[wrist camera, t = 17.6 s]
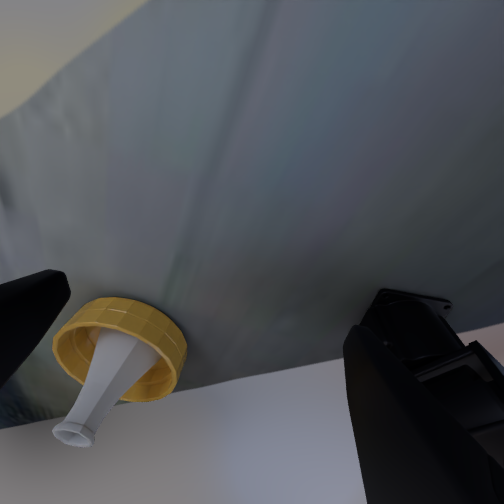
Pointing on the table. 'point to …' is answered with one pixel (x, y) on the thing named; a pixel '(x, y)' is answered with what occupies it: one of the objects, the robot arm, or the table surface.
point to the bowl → (133, 323)
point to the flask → (105, 384)
